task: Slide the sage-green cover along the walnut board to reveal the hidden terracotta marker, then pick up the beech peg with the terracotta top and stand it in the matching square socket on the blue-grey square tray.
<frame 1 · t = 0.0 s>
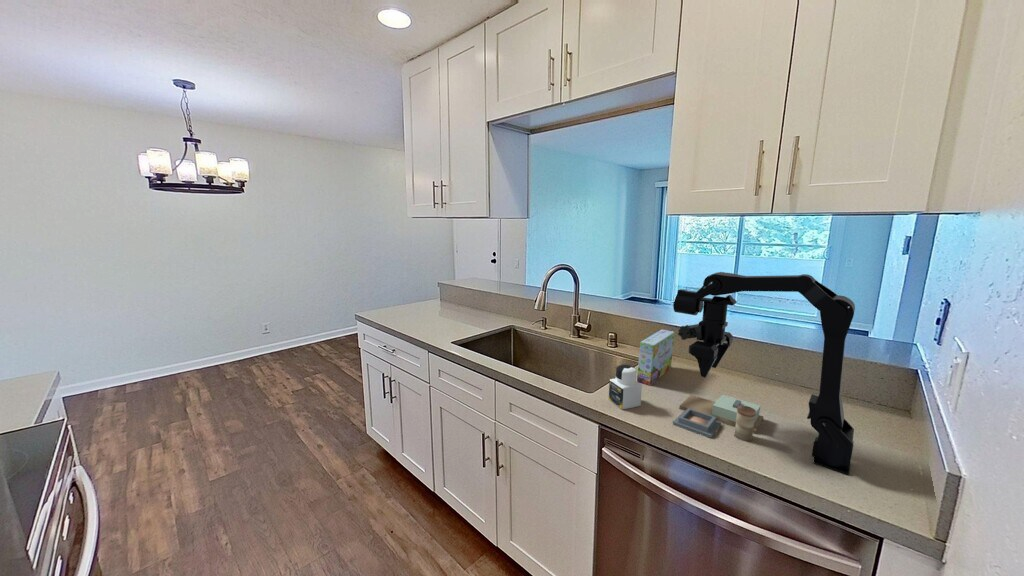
hand: (708, 372, 107), 15 cm above the worktop, fingers open, 9 cm apart
layout board: (720, 414, 113), on the worktop
blue-grey square tray: (696, 424, 107), on the worktop
cover: (736, 408, 109), point 3 cm above the worktop, slide at 0.0 cm
peg: (743, 437, 101), on the worktop
medicine bottle: (624, 403, 120), on the worktop
snack box: (655, 375, 141), on the worktop
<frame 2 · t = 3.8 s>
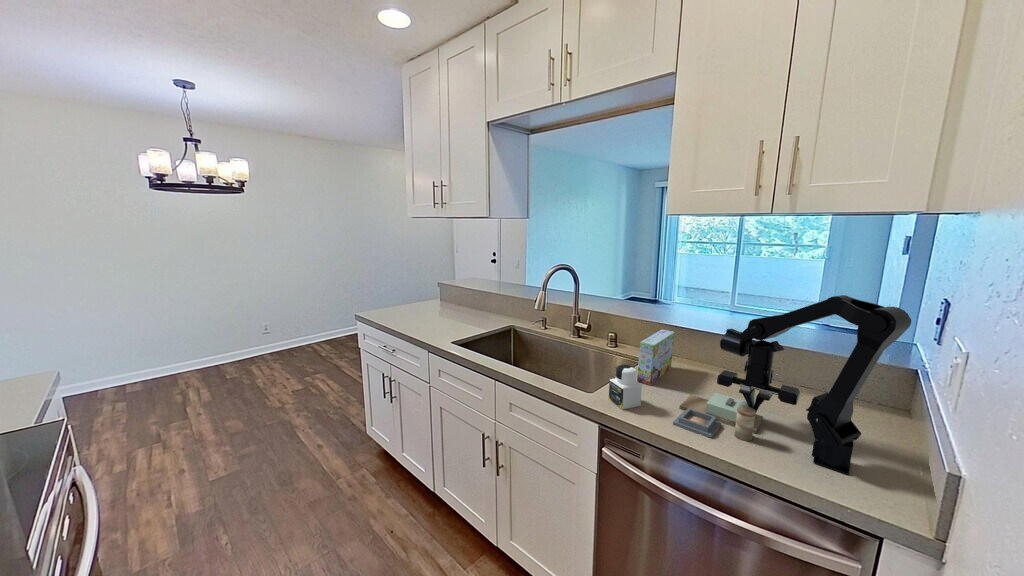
hand: (753, 414, 107), 3 cm above the worktop, fingers closed
cover: (729, 406, 111), point 3 cm above the worktop, slide at 1.8 cm, touching gripper
everything else where it was.
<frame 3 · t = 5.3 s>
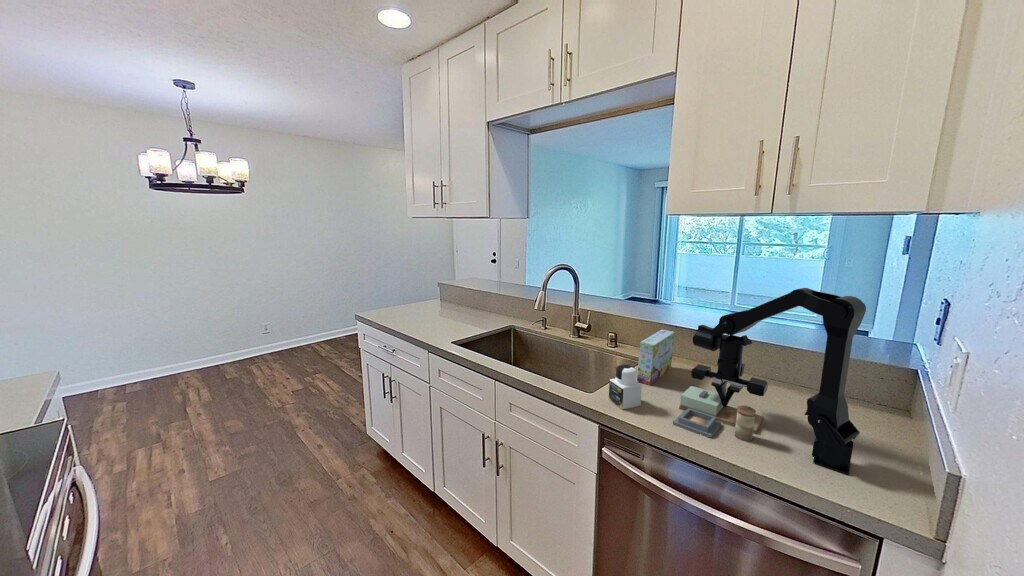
hand: (724, 406, 111), 3 cm above the worktop, fingers closed
cover: (702, 398, 115), point 3 cm above the worktop, slide at 9.0 cm, touching gripper
everything else where it was.
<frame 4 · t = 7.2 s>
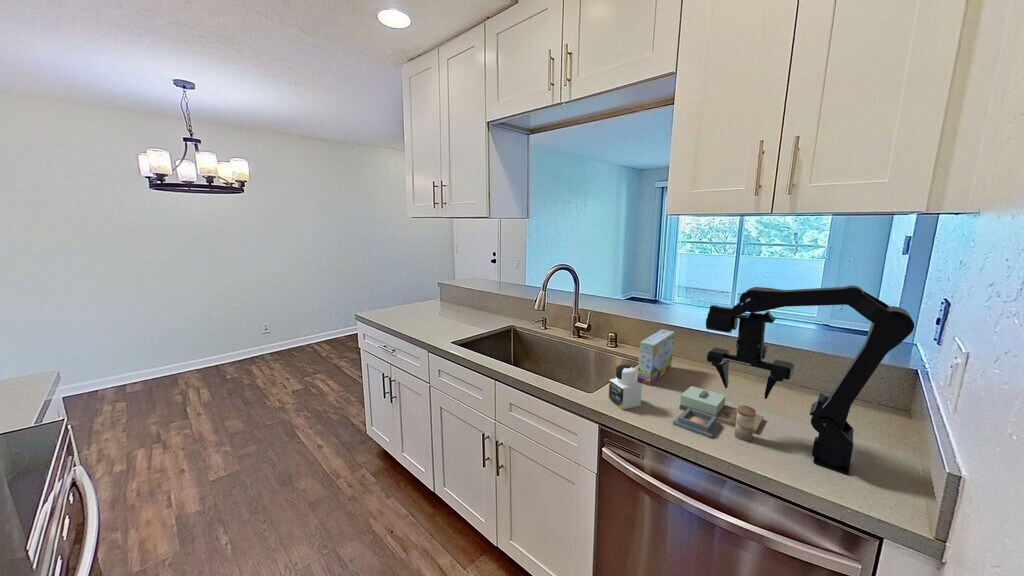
hand: (745, 393, 100), 12 cm above the worktop, fingers open, 9 cm apart
cover: (702, 398, 115), point 3 cm above the worktop, slide at 9.0 cm
everything else where it was.
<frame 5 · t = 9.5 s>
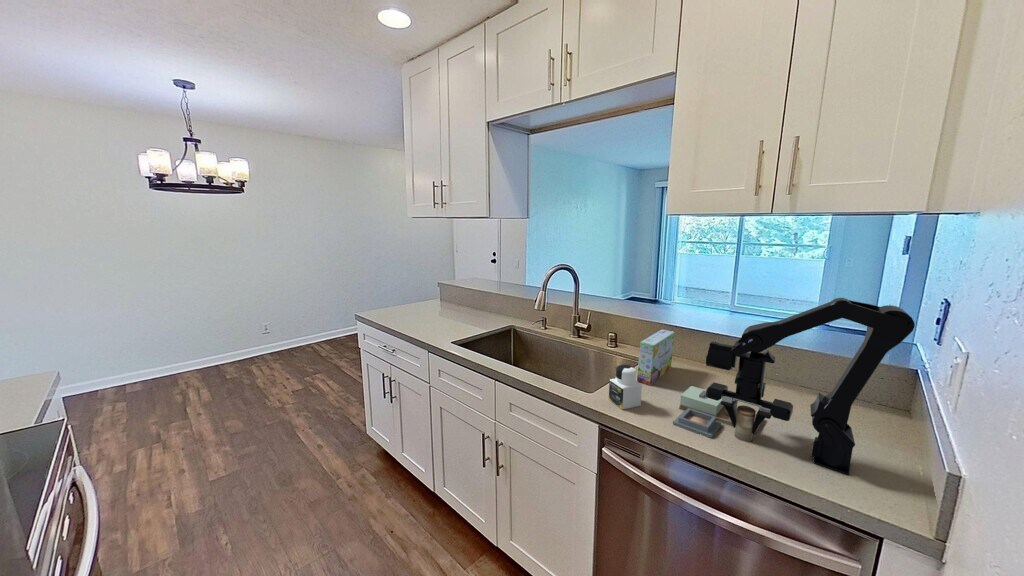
hand: (744, 430, 100), 2 cm above the worktop, fingers closed on peg, 4 cm apart
peg: (743, 437, 101), on the worktop, touching gripper
everything else where it was.
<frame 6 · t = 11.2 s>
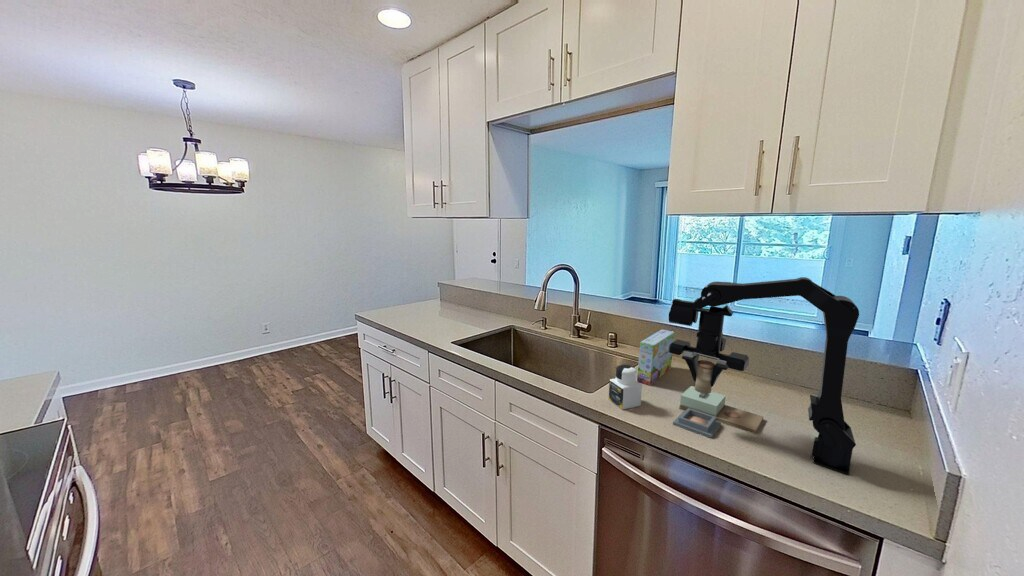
hand: (703, 383, 104), 13 cm above the worktop, fingers closed on peg, 4 cm apart
peg: (702, 390, 105), point 11 cm above the worktop, touching gripper
everything else where it was.
when the fingers open (4 cm above the worktop, at t = 13.1 s): peg stays where it is, resting on blue-grey square tray.
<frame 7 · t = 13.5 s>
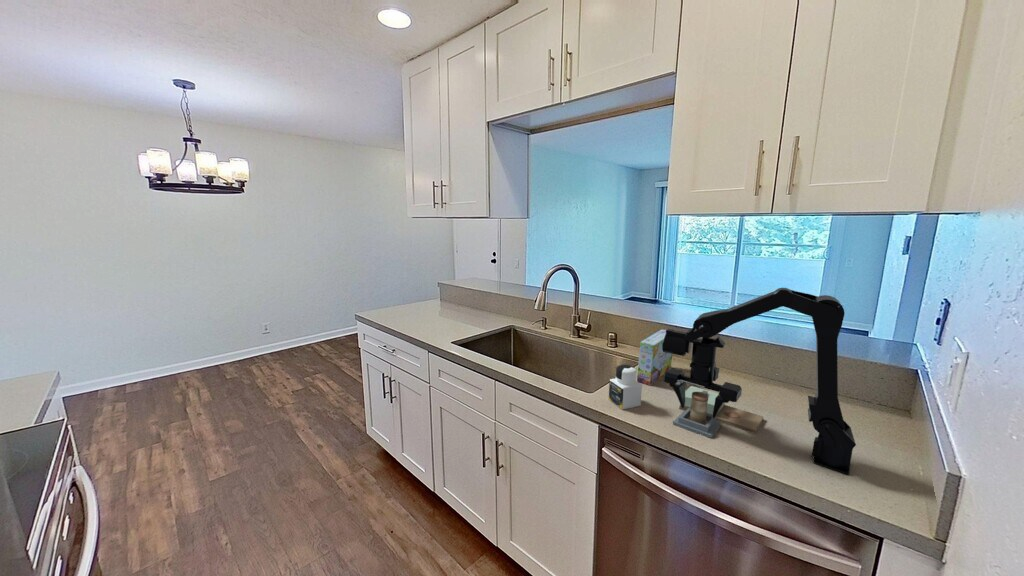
hand: (698, 412, 106), 4 cm above the worktop, fingers open, 8 cm apart
peg: (697, 421, 107), point 1 cm above the worktop, touching blue-grey square tray
everything else where it was.
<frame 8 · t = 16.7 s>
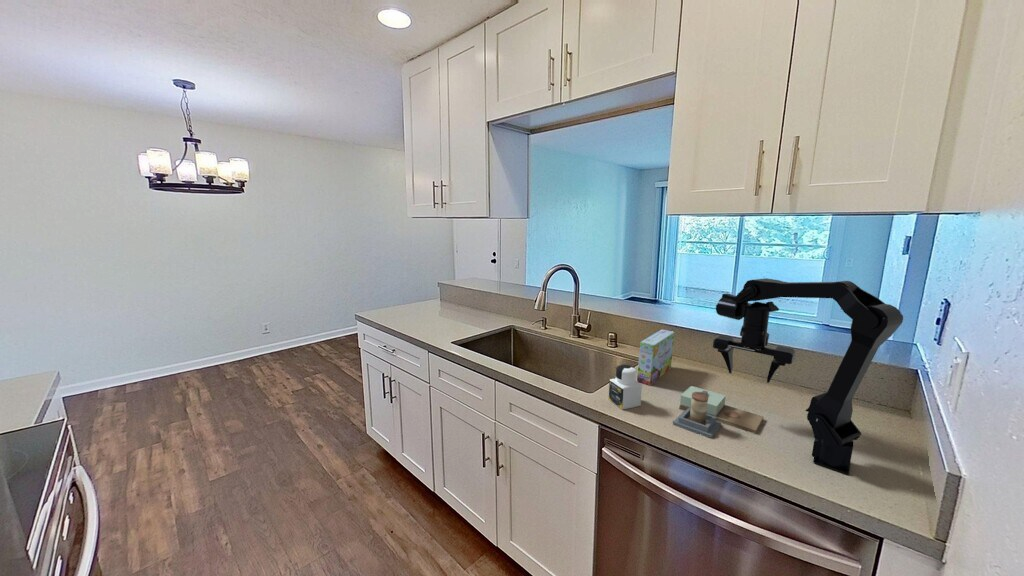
hand: (748, 377, 107), 13 cm above the worktop, fingers open, 9 cm apart
nothing on the worktop moved.
at the end: cover slide at 9.0 cm; peg 0.0 cm off-centre on the blue-grey square tray, point 1.0 cm above the blue-grey square tray's base; peg tilted 0° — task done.
